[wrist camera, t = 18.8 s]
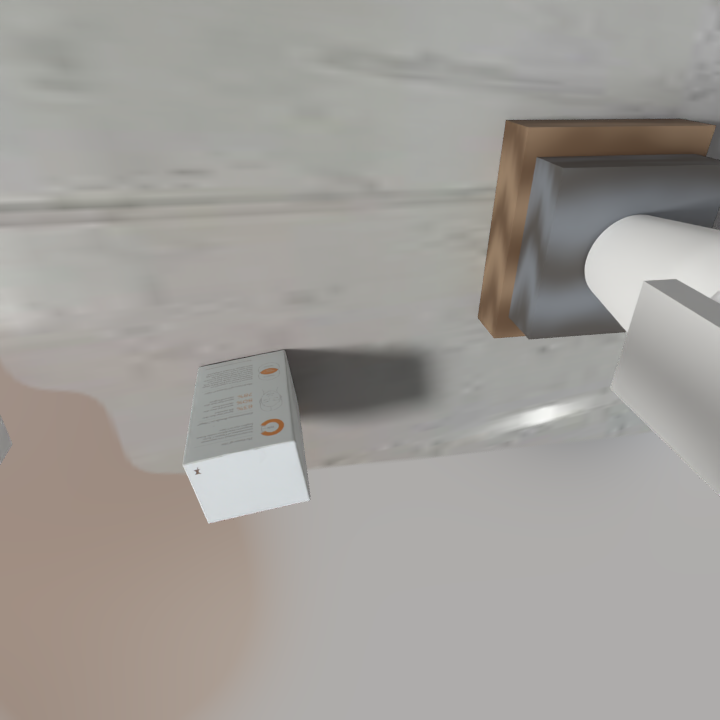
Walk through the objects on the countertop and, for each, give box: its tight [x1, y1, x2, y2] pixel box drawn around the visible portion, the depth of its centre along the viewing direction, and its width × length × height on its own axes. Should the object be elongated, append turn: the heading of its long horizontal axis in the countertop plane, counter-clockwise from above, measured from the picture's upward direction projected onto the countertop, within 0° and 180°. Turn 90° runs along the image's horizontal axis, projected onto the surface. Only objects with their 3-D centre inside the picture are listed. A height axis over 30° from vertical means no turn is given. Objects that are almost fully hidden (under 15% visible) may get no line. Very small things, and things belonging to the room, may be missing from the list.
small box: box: [183, 350, 310, 523], centre depth 44 cm, size 8×6×13 cm
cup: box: [585, 215, 720, 332], centre depth 34 cm, size 9×9×12 cm
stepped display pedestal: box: [478, 119, 720, 339], centre depth 43 cm, size 17×15×8 cm
